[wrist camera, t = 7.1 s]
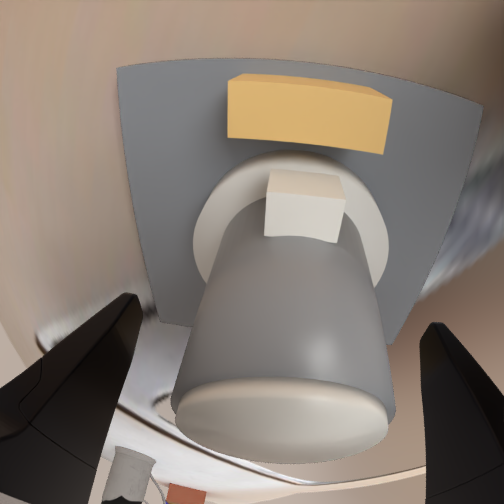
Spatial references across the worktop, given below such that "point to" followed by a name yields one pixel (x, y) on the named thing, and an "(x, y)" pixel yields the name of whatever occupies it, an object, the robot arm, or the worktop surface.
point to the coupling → (288, 334)
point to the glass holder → (129, 478)
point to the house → (184, 495)
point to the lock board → (203, 149)
